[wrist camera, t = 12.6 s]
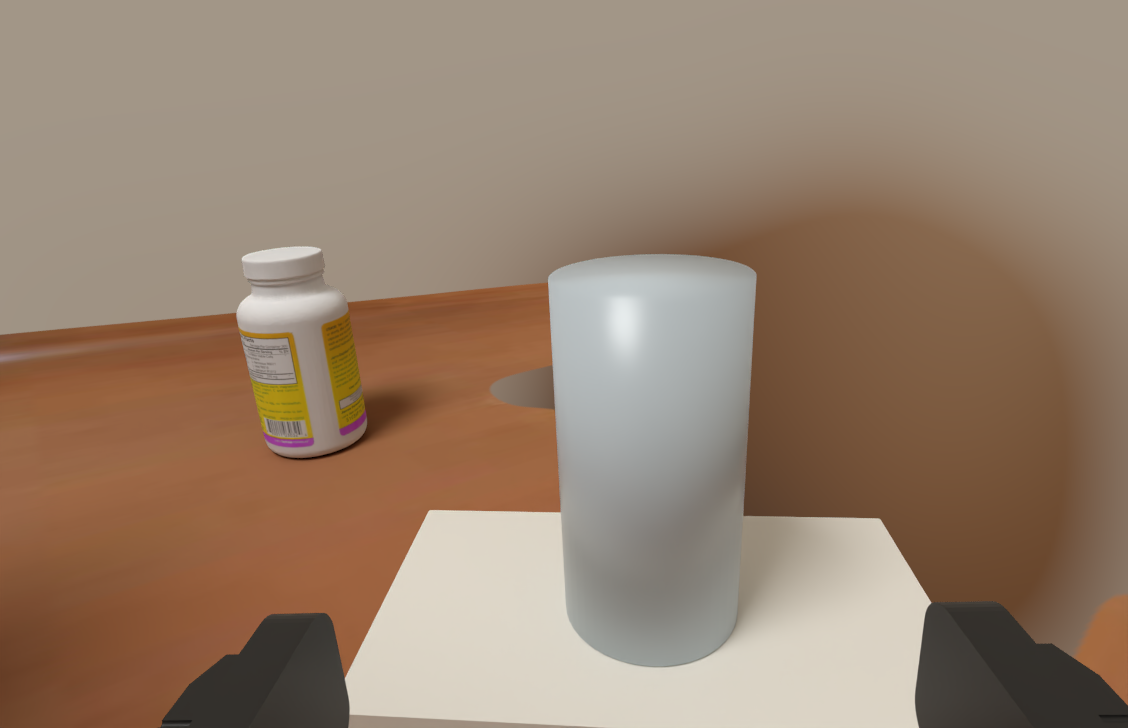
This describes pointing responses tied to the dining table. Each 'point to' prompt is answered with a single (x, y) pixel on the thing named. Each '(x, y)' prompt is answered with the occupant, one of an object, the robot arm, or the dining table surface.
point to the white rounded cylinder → (652, 449)
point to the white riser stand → (628, 691)
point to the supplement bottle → (300, 354)
